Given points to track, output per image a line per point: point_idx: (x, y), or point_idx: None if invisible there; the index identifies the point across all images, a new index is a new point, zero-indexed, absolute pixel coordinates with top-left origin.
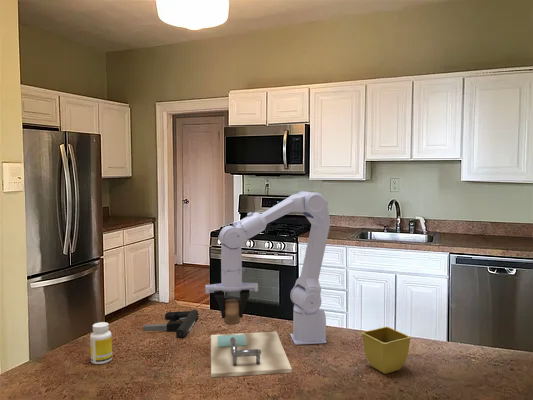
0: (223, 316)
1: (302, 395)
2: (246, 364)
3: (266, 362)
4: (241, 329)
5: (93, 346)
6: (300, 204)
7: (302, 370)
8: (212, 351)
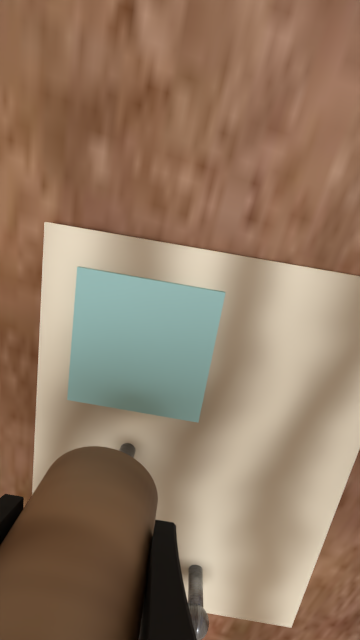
0: None
1: None
2: None
3: (227, 570)
4: (250, 128)
5: None
6: None
7: (327, 609)
8: (41, 429)
